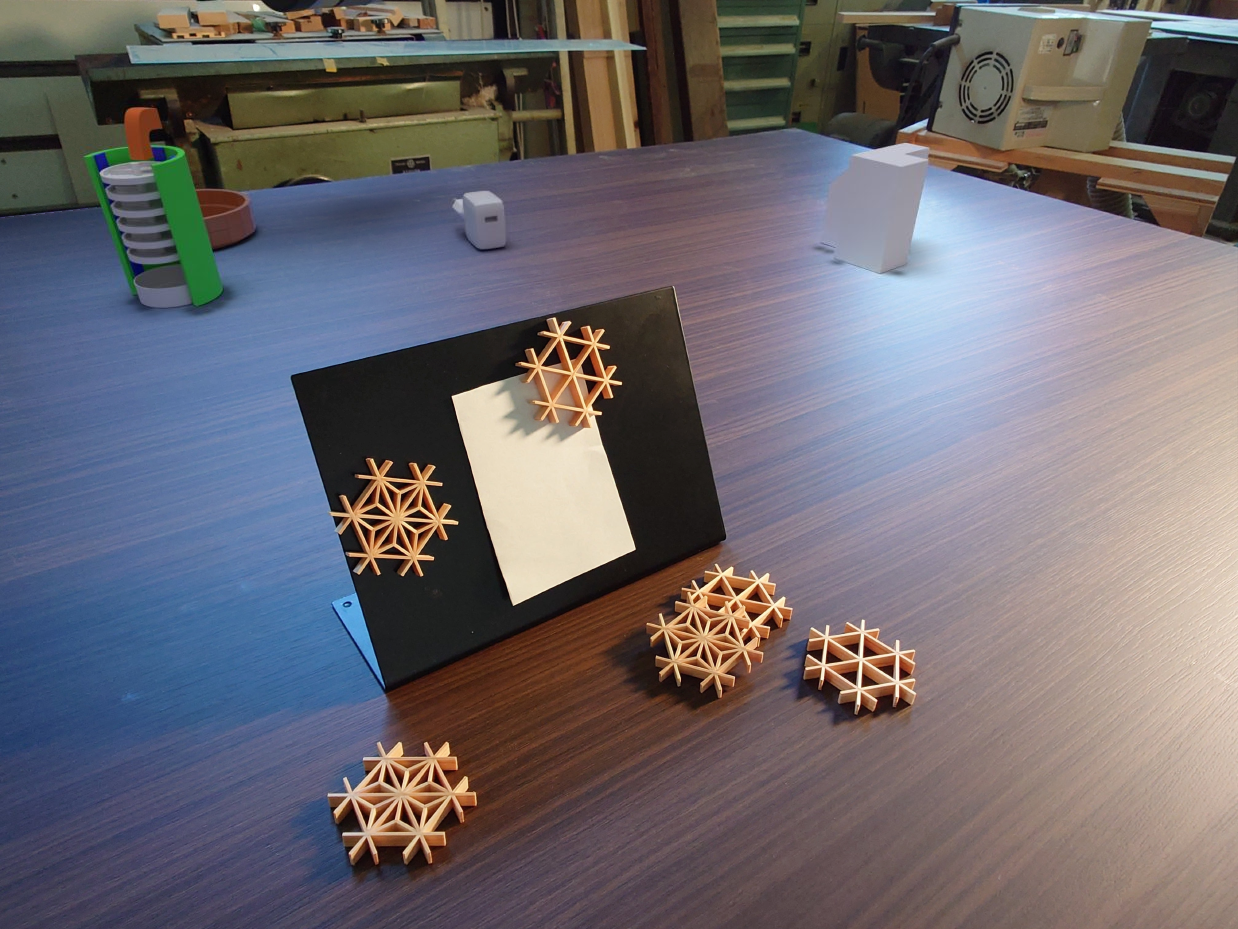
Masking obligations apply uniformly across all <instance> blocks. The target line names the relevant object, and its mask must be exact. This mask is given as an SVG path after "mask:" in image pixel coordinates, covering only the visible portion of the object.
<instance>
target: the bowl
mask: <svg viewBox="0 0 1238 929" xmlns="http://www.w3.org/2000/svg"><path fill="white" fill-rule="evenodd" d="M195 191H196V194H197V198H198V201H199V205H200V208H201V212H202V215H203V219H204V222H205V226H206V230H207V233H208V237H209V240H210V244H211V247H212V250H216V249H221V248H225V247H227V246H232V245H234V244H236V243H238V242H241V241H243V240H244V239H246V238H248V236H250V235H252V234H253V233H254V232H255V230H256V228H257V227H258V226H257V225H258V224H257V220H256V216H255V212H254V207H253V204H252V199H251V198H250V197H249V196H248V195H247V194H245V193H243V192H240V191H237V190H230V189H223V188H222V189H221V188H199V189H197V188H195Z"/></svg>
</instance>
